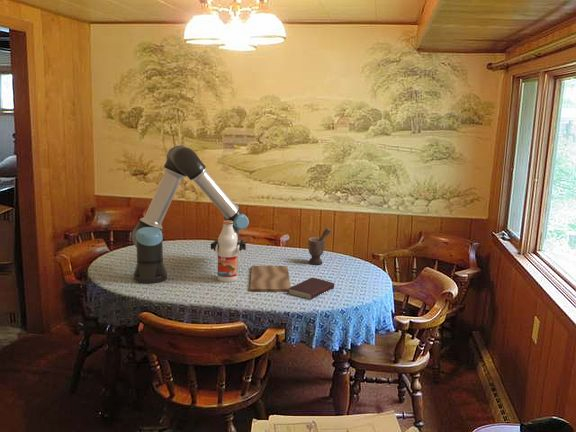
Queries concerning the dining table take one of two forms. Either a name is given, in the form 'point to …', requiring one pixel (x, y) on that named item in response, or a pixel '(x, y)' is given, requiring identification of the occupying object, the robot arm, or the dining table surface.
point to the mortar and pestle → (317, 247)
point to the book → (311, 288)
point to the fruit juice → (227, 253)
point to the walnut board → (270, 279)
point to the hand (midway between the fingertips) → (227, 250)
